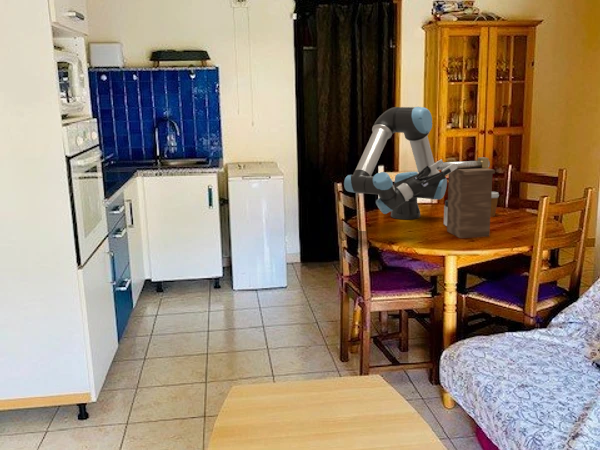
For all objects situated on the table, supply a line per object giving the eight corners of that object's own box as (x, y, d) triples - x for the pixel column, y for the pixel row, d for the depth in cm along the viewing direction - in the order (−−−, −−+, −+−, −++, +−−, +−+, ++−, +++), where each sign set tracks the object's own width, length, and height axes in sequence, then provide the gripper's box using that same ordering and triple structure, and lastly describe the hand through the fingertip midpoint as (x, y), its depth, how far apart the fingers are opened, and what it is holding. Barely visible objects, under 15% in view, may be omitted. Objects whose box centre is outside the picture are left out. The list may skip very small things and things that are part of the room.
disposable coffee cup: (502, 216, 307) (503, 193, 305) (487, 218, 304) (488, 194, 301) (489, 212, 316) (491, 190, 313) (475, 214, 313) (476, 192, 310)
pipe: (435, 169, 265) (436, 159, 264) (485, 166, 270) (485, 157, 269) (440, 170, 261) (440, 160, 260) (490, 168, 266) (490, 158, 265)
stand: (445, 230, 280) (447, 166, 273) (472, 228, 282) (475, 165, 276) (462, 239, 263) (464, 171, 256) (491, 237, 265) (495, 170, 258)
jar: (452, 227, 284) (453, 203, 282) (440, 224, 291) (441, 200, 288) (465, 225, 289) (466, 200, 286) (453, 222, 296) (453, 198, 293)
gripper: (403, 191, 276) (441, 167, 276) (423, 201, 252) (465, 174, 252) (395, 178, 273) (434, 153, 274) (415, 186, 249) (457, 159, 250)
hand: (449, 163), depth 263 cm, fingers open, 13 cm apart
